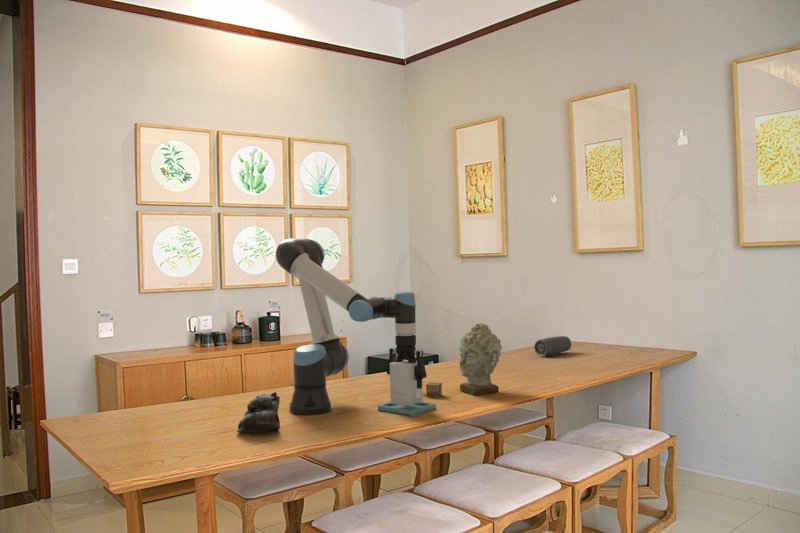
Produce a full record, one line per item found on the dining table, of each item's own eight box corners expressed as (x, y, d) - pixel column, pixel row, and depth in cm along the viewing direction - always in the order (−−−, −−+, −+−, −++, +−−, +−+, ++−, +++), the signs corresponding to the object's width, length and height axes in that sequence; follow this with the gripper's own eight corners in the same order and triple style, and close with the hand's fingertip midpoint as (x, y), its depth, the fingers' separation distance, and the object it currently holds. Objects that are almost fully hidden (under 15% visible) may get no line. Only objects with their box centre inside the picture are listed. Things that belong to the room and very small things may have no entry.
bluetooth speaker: (558, 352, 370) (558, 334, 370) (572, 353, 363) (572, 335, 362) (533, 356, 355) (533, 338, 355) (547, 358, 348) (547, 339, 348)
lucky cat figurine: (228, 433, 208) (232, 391, 215) (256, 440, 217) (260, 399, 223) (261, 426, 200) (264, 382, 207) (289, 433, 209) (291, 391, 216)
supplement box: (423, 401, 238) (423, 361, 238) (410, 406, 231) (409, 364, 231) (403, 398, 243) (402, 359, 243) (389, 403, 236) (388, 362, 236)
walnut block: (438, 397, 256) (438, 385, 256) (426, 397, 258) (426, 384, 258) (441, 395, 261) (441, 382, 261) (429, 394, 263) (429, 382, 263)
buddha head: (449, 390, 269) (448, 323, 269) (486, 386, 278) (485, 320, 278) (472, 398, 254) (471, 327, 254) (510, 393, 263) (509, 324, 262)
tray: (412, 416, 227) (412, 411, 227) (377, 410, 237) (377, 405, 237) (435, 408, 238) (435, 403, 238) (401, 403, 248) (401, 398, 248)
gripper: (436, 335, 233) (437, 397, 233) (388, 331, 246) (389, 390, 247) (423, 337, 227) (425, 401, 227) (376, 333, 241) (377, 394, 241)
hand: (406, 395), depth 237 cm, fingers closed on supplement box, 9 cm apart
